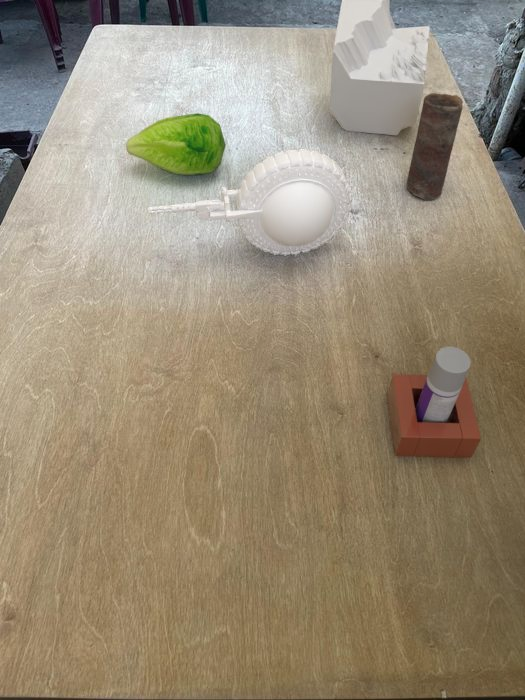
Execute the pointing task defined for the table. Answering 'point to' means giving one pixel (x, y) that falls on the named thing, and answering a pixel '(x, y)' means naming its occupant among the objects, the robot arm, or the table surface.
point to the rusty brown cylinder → (434, 144)
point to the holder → (430, 437)
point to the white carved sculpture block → (376, 69)
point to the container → (442, 385)
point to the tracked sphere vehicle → (283, 203)
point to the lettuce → (181, 144)
